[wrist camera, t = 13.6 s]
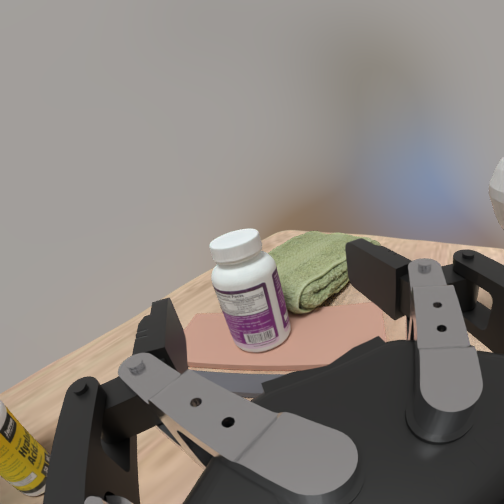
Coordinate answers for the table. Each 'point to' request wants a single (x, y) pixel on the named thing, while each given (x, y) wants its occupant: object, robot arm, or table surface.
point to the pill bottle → (249, 291)
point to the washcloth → (312, 268)
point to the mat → (287, 353)
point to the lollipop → (498, 192)
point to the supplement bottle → (21, 456)
